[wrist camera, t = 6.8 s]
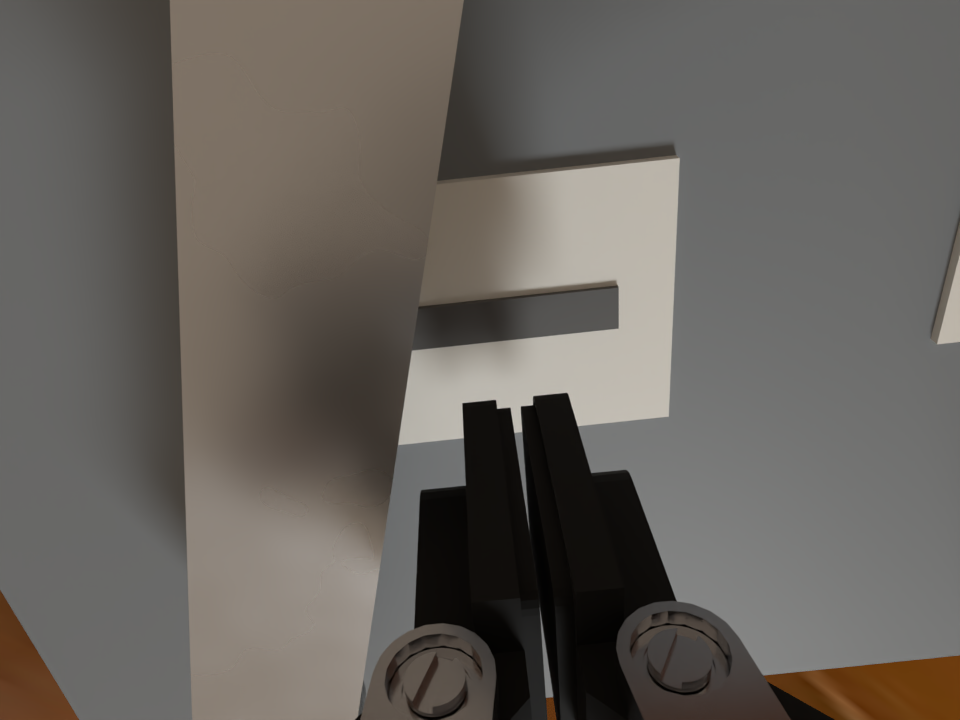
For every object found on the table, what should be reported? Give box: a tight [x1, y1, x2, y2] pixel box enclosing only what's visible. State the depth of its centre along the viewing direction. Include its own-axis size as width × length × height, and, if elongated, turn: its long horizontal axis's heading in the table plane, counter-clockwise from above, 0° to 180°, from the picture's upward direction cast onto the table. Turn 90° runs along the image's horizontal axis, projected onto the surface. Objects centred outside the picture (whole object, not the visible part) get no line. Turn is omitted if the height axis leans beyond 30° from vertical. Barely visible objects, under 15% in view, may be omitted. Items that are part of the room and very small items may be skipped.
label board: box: [0, 0, 960, 720], centre depth 13 cm, size 28×22×3 cm
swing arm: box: [170, 0, 464, 720], centre depth 9 cm, size 20×4×3 cm, turn 170°
